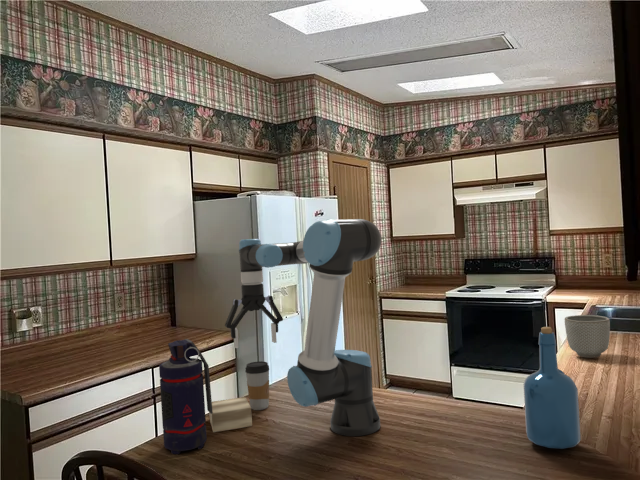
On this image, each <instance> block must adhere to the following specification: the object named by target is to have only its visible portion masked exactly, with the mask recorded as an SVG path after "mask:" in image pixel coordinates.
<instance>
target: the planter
mask: <svg viewBox="0 0 640 480" xmlns="http://www.w3.org/2000/svg"><path fill="white" fill-rule="evenodd" d="M564 327H565V334H566V340H567V343H568V346H569V348H570V349H571V350H572V351H574V353H576V355H577V356H579V357H582V358H588V359H589V358H590V359H592V358H594V359H595V358H599V357H601V356H602V354H603V353H604V352H606V351H607V350H608V348H609V344H610V336H611V335H610V334H611V333H610V331H611V321H610V318H609V317H607V316H604V315H603V316H602V315H593V314H580V315H570V316H566V317H564Z"/></svg>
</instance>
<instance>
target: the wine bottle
mask: <svg viewBox="0 0 640 480" xmlns="http://www.w3.org/2000/svg"><path fill="white" fill-rule="evenodd" d="M540 329H541V330H540V332H538V333H539V335H538V343H537V344H538V345H539V369H538V370H537V371H535V372H533V373H530V374H528V376H526V378H525V379H524V382H523V397H524V399H523V400H524V401H523V402H524V417H525V418H524V420H525V433H526V437H527V438H528V441H530V442H531V443H534V445H537V446H541V447H545V448H547V449H561V450H563V449H568V448H574V447H576V446H577V445H578V444H579V443H580V441H581V424H580V422H581V421H580V406H579V391H578V390H579V389H578V387H577V385H576V383H575V382H574V380H573V378H572V377H571V376H569V375H567V374H565V372H564V371H563V370H561V369H559V366H558V357H557V341H556V335H555V332H553V329H552V327H551V326H543V327H541V328H540Z"/></svg>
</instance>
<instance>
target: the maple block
mask: <svg viewBox="0 0 640 480" xmlns="http://www.w3.org/2000/svg"><path fill="white" fill-rule="evenodd" d="M212 411H213V413H212V414H211V413H210V412H209V411H208V412H209V422H210V425H211V430H212V432H213V433H216V432H217V433H218V432H222V431H229V430H236V429H241V428H246V427H247V428H248V427H253V419H252V418H253V416H252V409H251V407H250V402H249V401H248V399H247V397H246V396H242V397H235V398H229V399H219V400H216V401H215V400H213V401H212Z"/></svg>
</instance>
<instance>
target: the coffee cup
mask: <svg viewBox="0 0 640 480" xmlns="http://www.w3.org/2000/svg"><path fill="white" fill-rule="evenodd" d="M245 375H246V386H247V393H248V398H249V399H248V400H249V405H250V407H251V410H253V411H262V410H267V409H268V408H269V405H270V403H269V401H270V365H269V363H268V362H267V361H252V362H248V363H247V364H246V367H245Z"/></svg>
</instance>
